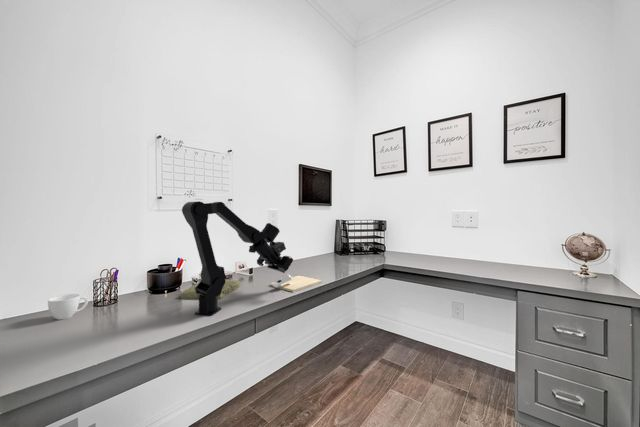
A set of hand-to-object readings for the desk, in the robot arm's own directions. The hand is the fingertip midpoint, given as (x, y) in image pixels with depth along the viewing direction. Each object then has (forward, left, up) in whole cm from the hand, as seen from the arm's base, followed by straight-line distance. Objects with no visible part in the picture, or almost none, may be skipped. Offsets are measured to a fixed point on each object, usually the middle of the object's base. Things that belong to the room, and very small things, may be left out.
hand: (284, 272), depth 123 cm
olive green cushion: (-10, +30, -8) cm, 32 cm away
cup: (-44, +63, -8) cm, 77 cm away
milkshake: (-3, +3, -5) cm, 7 cm away
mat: (+8, -3, -8) cm, 11 cm away
